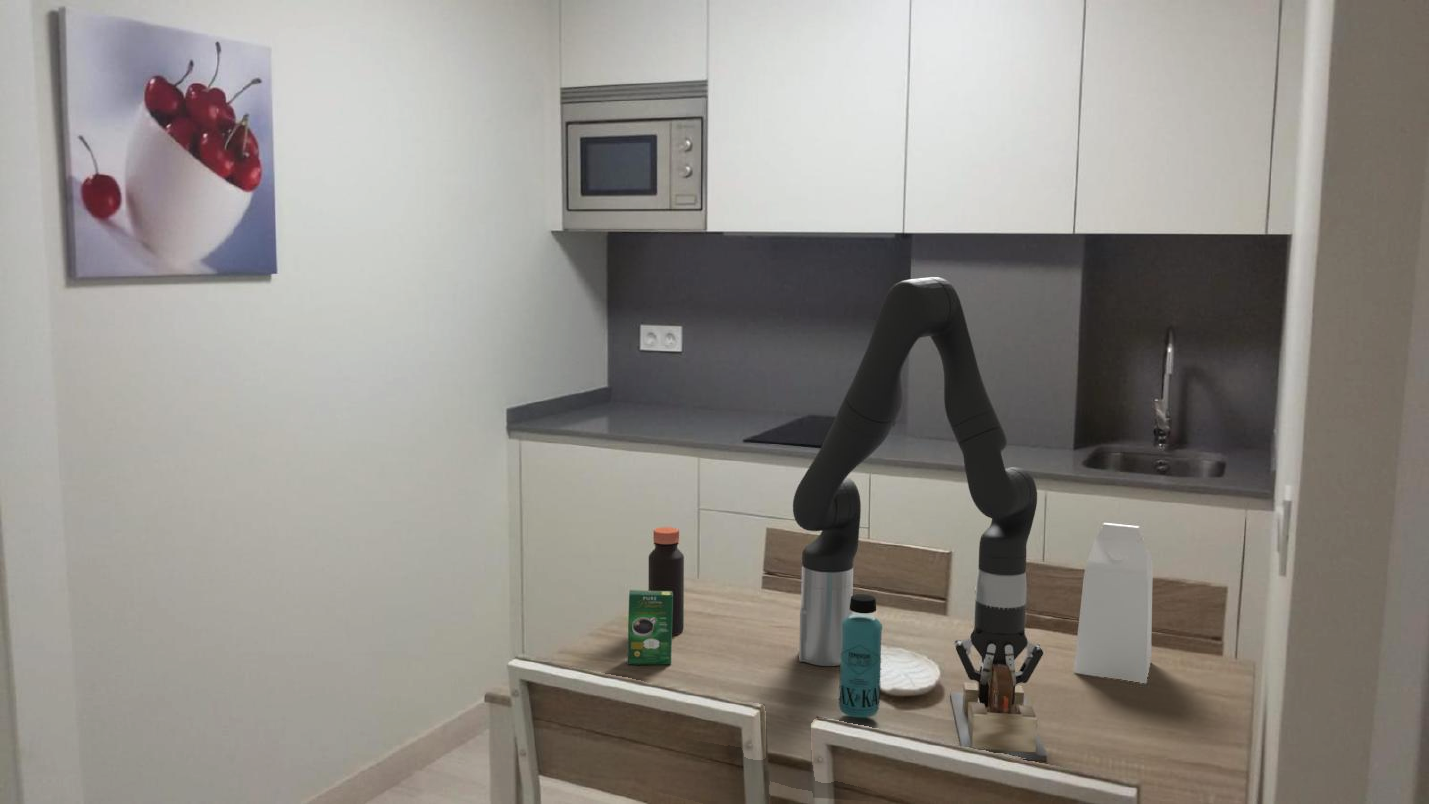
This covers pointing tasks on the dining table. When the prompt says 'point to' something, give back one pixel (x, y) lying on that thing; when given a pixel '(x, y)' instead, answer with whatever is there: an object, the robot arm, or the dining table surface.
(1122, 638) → the milk
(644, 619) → the coffee box
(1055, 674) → the dining table surface
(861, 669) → the beverage bottle
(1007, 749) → the clip
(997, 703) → the tin
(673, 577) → the vinegar
